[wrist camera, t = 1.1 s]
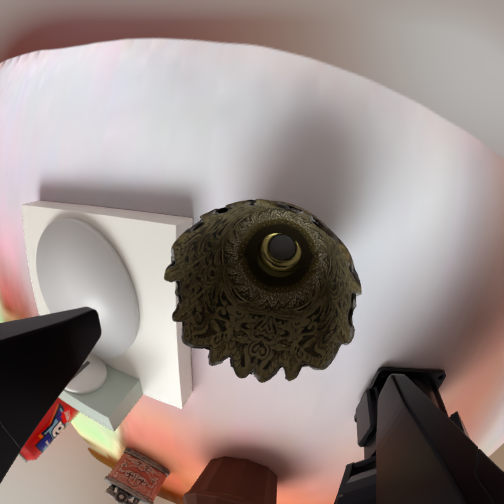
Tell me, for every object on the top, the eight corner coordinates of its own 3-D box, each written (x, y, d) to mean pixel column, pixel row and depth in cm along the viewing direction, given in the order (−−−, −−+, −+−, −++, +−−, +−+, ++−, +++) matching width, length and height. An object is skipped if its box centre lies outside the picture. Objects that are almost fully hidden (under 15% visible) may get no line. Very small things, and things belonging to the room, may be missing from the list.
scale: (193, 218, 18) (120, 250, 11) (192, 391, 23) (157, 451, 16) (39, 200, 21) (-21, 216, 14) (60, 335, 26) (19, 366, 19)
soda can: (57, 363, 29) (-10, 421, 15) (92, 406, 30) (34, 470, 16) (44, 372, 31) (-12, 421, 17) (74, 409, 32) (24, 463, 18)
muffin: (189, 443, 26) (156, 506, 17) (281, 455, 24) (263, 531, 14) (214, 483, 29) (192, 533, 20) (288, 492, 27) (275, 549, 17)
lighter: (125, 451, 32) (97, 491, 23) (125, 445, 31) (95, 487, 22) (168, 475, 32) (144, 518, 22) (171, 470, 31) (146, 516, 21)
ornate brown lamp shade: (225, 184, 17) (155, 198, 9) (346, 191, 15) (376, 209, 8) (225, 295, 19) (173, 366, 11) (334, 306, 17) (339, 392, 10)
